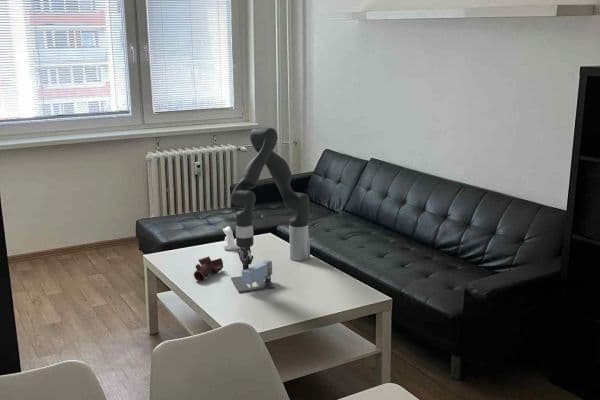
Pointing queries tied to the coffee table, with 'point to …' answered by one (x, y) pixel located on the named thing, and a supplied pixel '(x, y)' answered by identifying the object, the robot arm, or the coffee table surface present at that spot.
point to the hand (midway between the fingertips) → (246, 272)
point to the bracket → (207, 268)
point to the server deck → (253, 284)
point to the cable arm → (257, 272)
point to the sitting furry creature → (229, 240)
